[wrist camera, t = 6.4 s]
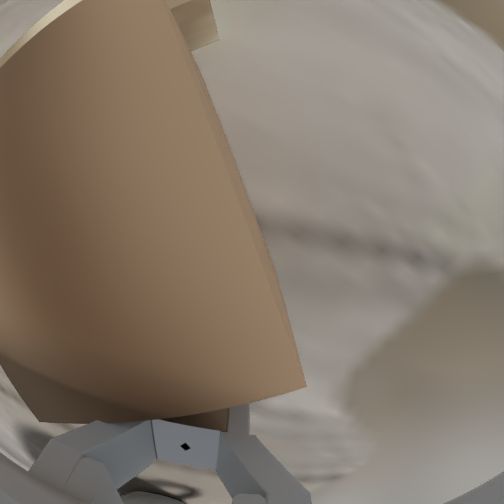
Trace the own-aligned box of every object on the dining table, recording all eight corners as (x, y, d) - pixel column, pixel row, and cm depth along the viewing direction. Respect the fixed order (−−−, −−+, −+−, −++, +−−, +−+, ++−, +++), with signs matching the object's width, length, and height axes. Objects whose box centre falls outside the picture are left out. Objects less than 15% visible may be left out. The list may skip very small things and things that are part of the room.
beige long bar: (-27, 224, 10) (-63, 233, 7) (-38, 166, 9) (-72, 168, 6) (219, 39, 8) (208, -6, 5) (185, -16, 7) (170, -58, 4)
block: (117, 330, 11) (39, 421, 5) (51, 155, 9) (-60, 148, 3) (277, 278, 10) (306, 386, 4) (200, 72, 8) (148, -35, 3)
